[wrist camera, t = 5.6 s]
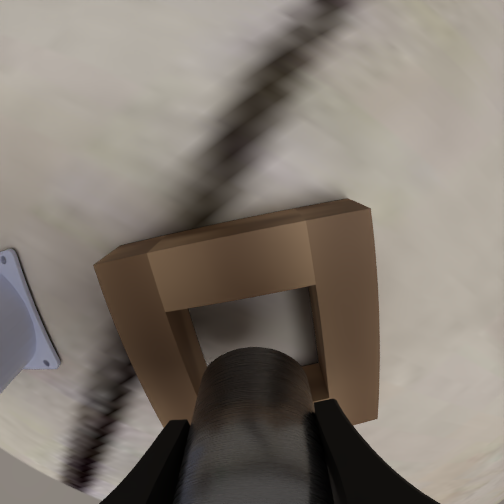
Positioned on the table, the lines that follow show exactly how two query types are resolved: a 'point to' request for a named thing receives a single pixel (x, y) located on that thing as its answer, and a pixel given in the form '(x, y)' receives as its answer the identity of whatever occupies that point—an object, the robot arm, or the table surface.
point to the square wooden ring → (251, 285)
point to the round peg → (254, 435)
